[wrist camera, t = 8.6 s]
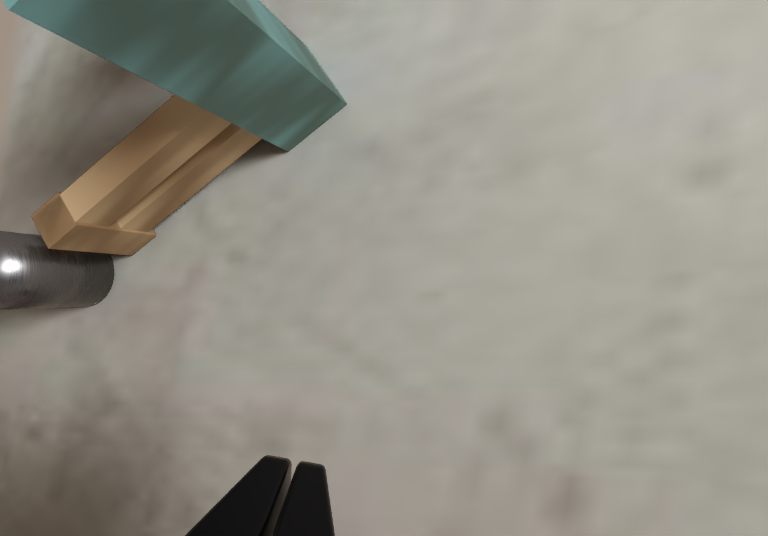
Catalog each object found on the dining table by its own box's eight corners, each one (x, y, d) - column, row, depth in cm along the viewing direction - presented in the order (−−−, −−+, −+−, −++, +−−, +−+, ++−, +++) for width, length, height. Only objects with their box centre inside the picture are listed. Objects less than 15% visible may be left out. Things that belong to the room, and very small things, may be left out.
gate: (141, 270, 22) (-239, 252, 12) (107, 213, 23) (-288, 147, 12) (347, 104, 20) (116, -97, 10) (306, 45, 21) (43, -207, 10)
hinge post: (115, 303, 23) (10, 307, 18) (60, 309, 23) (-55, 313, 19) (112, 236, 23) (5, 224, 18) (56, 243, 23) (-58, 233, 19)
